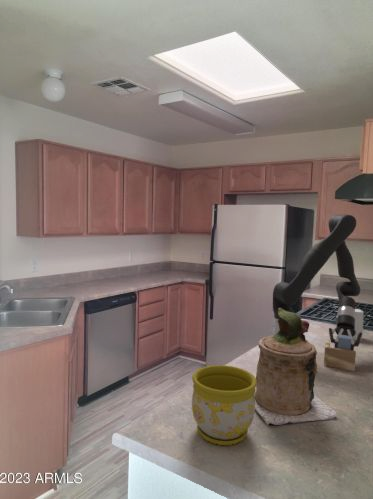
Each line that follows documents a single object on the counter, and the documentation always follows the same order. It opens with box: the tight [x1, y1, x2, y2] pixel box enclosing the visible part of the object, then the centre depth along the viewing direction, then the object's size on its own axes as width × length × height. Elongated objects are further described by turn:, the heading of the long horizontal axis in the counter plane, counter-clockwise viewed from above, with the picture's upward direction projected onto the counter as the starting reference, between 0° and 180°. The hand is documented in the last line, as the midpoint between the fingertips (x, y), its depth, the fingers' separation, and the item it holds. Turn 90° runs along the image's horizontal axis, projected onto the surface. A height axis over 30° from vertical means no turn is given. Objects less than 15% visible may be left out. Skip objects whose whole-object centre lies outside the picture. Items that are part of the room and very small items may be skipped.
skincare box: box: [352, 308, 365, 341], centre depth 195 cm, size 8×7×16 cm
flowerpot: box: [191, 364, 257, 446], centre depth 104 cm, size 18×18×16 cm
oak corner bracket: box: [323, 339, 357, 372], centre depth 159 cm, size 11×12×8 cm
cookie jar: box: [254, 308, 337, 426], centre depth 122 cm, size 25×25×32 cm
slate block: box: [338, 335, 351, 350], centre depth 158 cm, size 5×5×11 cm
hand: (343, 352), depth 156 cm, fingers closed on slate block, 5 cm apart
